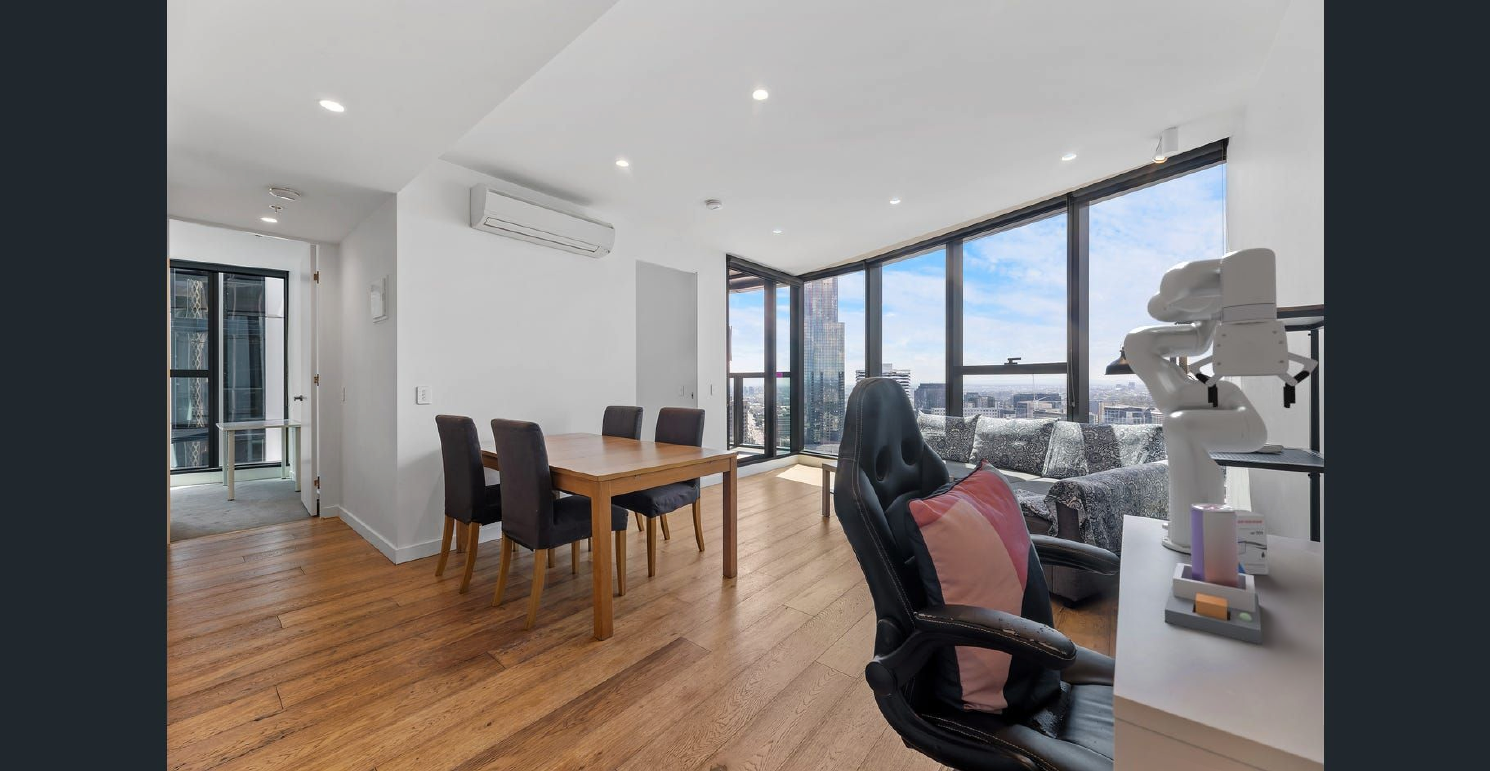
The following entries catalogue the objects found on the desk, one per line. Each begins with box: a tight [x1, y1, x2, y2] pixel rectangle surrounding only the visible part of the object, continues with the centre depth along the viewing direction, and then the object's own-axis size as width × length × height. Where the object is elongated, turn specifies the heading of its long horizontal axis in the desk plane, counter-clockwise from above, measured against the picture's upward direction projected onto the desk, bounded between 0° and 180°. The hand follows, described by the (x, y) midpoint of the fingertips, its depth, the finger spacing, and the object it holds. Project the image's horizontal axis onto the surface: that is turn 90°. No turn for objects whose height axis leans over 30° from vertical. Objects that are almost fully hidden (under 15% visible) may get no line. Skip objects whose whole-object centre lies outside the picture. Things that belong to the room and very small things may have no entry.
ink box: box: [1235, 509, 1269, 575], centre depth 104 cm, size 9×5×12 cm, turn 84°
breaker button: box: [1195, 593, 1227, 620], centre depth 82 cm, size 4×4×3 cm
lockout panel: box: [1164, 562, 1262, 645], centre depth 86 cm, size 18×11×5 cm, turn 136°
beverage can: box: [1190, 503, 1239, 589], centre depth 88 cm, size 6×6×15 cm
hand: (1250, 407), depth 97 cm, fingers open, 9 cm apart
